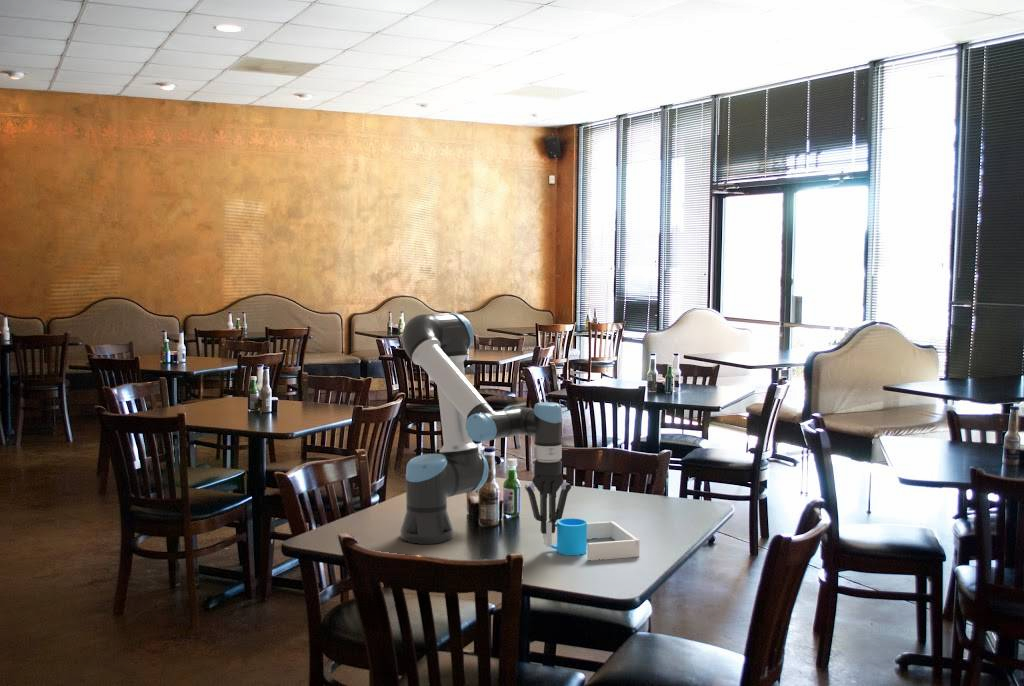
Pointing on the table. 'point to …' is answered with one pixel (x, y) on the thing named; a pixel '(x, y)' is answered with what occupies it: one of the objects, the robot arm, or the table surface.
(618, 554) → the box
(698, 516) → the table surface
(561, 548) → the mug
